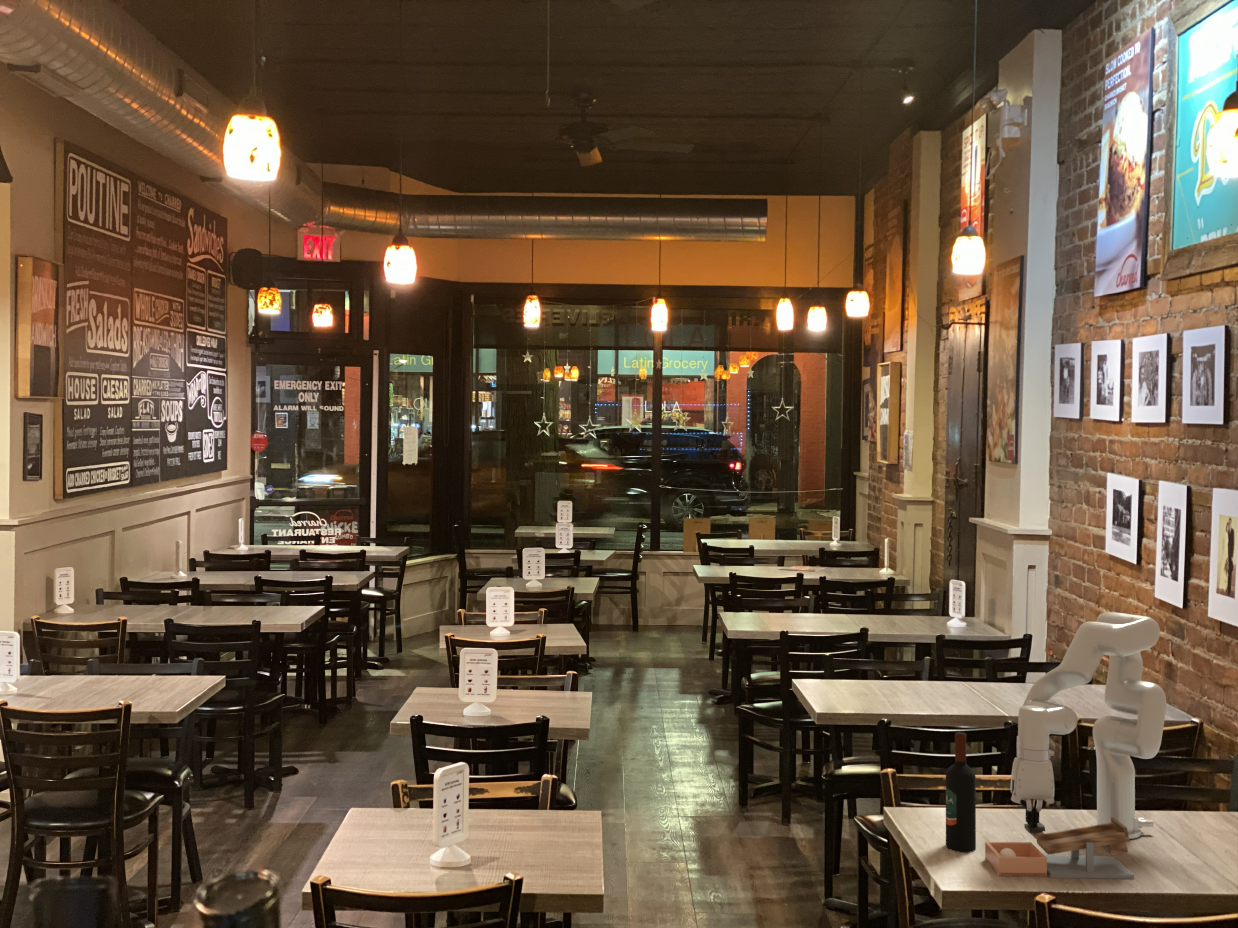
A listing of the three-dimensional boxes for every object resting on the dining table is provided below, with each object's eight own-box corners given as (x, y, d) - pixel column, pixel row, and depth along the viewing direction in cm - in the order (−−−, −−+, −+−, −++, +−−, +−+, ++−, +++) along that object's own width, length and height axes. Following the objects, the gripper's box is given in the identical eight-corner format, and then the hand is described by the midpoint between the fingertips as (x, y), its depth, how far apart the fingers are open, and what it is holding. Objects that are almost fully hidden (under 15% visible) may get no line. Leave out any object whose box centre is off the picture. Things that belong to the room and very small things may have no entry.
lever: (1103, 830, 291) (1099, 806, 291) (1131, 853, 274) (1126, 827, 274) (1027, 843, 291) (1023, 819, 291) (1050, 866, 274) (1045, 840, 274)
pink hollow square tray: (1031, 859, 284) (1031, 842, 284) (1047, 876, 273) (1047, 857, 273) (985, 859, 285) (985, 841, 285) (999, 875, 273) (999, 857, 273)
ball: (1014, 847, 281) (998, 844, 281) (1019, 852, 277) (1003, 849, 277) (1011, 862, 281) (995, 859, 281) (1016, 868, 277) (1000, 865, 277)
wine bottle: (971, 853, 289) (971, 737, 289) (942, 848, 293) (942, 734, 293) (979, 845, 295) (978, 732, 295) (950, 840, 299) (950, 728, 299)
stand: (1112, 859, 284) (1112, 828, 284) (1134, 878, 271) (1134, 845, 271) (1033, 858, 285) (1032, 827, 285) (1051, 877, 272) (1050, 844, 272)
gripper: (1057, 751, 293) (1056, 821, 293) (999, 750, 293) (998, 820, 293) (1067, 758, 285) (1066, 830, 285) (1008, 756, 286) (1007, 828, 286)
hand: (1032, 825), depth 289 cm, fingers closed
